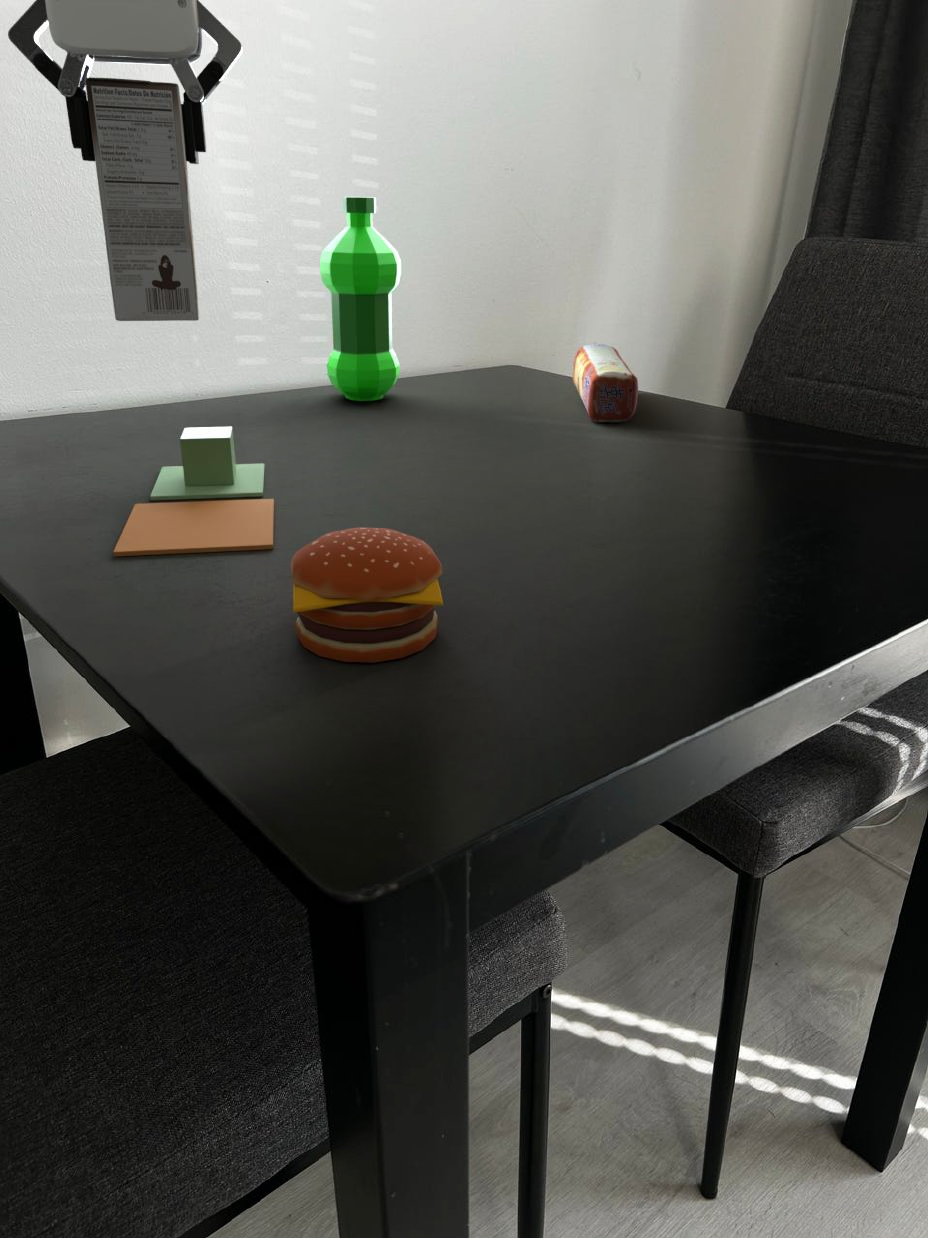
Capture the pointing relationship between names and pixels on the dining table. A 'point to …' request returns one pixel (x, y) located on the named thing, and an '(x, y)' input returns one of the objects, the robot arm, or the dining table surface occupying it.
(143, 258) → the coffee box
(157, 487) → the green mat
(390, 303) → the plastic bottle
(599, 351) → the snack package
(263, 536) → the caramel mat
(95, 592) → the dining table surface
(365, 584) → the hamburger
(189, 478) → the green block
